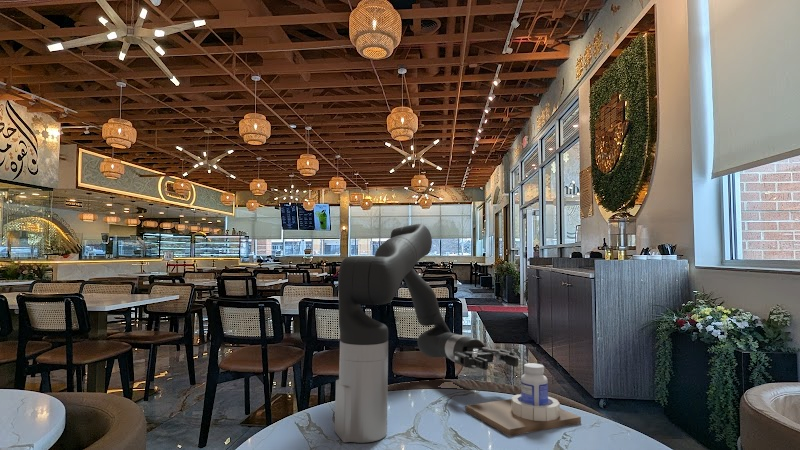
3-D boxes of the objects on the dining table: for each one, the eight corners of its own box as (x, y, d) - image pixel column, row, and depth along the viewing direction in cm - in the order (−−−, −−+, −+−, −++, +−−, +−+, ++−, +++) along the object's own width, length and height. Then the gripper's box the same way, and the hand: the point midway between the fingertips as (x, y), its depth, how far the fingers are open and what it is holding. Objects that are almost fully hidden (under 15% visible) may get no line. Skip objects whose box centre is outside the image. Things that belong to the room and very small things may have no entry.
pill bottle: (545, 408, 96) (544, 362, 97) (551, 417, 90) (550, 368, 91) (519, 407, 96) (518, 361, 97) (523, 416, 91) (523, 367, 92)
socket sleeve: (532, 423, 87) (532, 410, 87) (502, 408, 96) (502, 396, 96) (569, 417, 91) (569, 404, 91) (537, 403, 99) (537, 391, 100)
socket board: (509, 436, 84) (509, 429, 84) (465, 411, 97) (465, 405, 97) (580, 423, 91) (580, 416, 91) (531, 401, 105) (531, 396, 105)
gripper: (441, 337, 116) (476, 349, 101) (486, 334, 122) (526, 345, 107) (441, 367, 116) (476, 383, 101) (487, 362, 121) (526, 377, 107)
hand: (502, 363), depth 104 cm, fingers open, 8 cm apart
